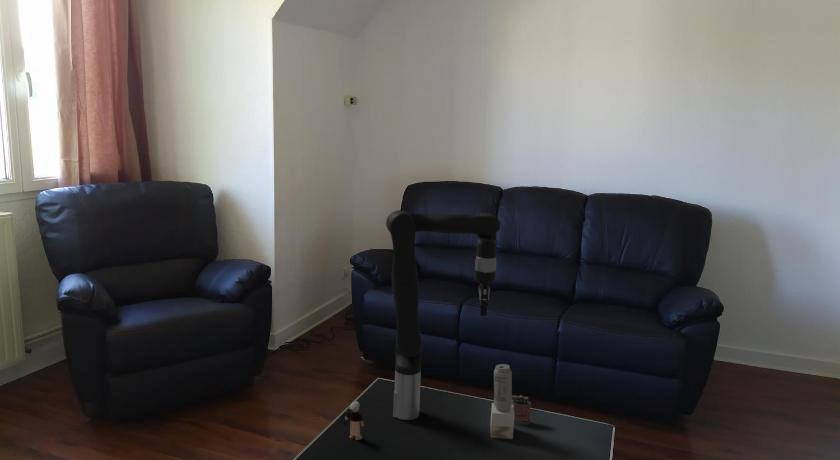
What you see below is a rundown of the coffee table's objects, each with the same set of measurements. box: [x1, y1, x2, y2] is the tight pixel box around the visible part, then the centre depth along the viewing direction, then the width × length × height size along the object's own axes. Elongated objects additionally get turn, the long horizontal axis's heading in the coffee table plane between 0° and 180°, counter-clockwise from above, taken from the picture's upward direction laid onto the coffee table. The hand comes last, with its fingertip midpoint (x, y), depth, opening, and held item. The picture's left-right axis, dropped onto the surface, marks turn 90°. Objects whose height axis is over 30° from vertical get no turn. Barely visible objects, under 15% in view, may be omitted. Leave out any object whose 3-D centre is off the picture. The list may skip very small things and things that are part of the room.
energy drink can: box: [493, 363, 513, 411], centre depth 208 cm, size 6×6×15 cm
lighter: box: [512, 394, 532, 425], centre depth 217 cm, size 8×3×10 cm, turn 84°
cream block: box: [490, 402, 515, 427], centre depth 209 cm, size 8×8×4 cm
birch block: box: [489, 421, 515, 440], centre depth 210 cm, size 8×8×4 cm
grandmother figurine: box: [344, 401, 365, 441], centre depth 203 cm, size 8×4×13 cm, turn 71°
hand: (482, 311), depth 220 cm, fingers open, 8 cm apart
